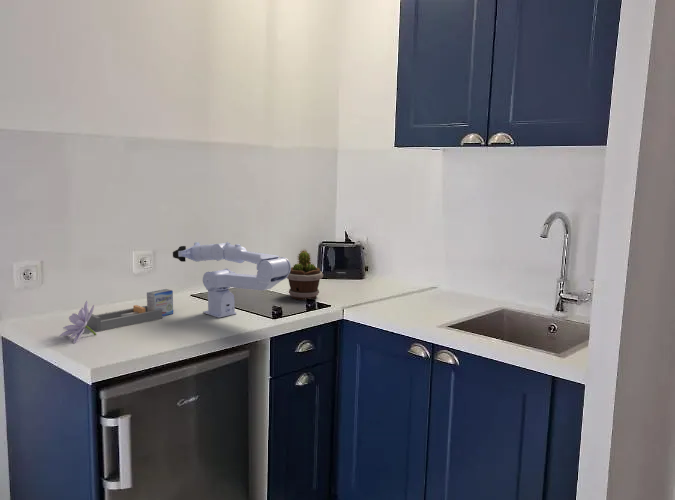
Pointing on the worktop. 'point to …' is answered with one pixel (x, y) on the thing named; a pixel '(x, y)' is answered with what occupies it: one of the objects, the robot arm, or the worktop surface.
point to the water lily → (79, 323)
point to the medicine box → (160, 301)
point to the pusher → (135, 310)
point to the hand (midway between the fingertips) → (182, 254)
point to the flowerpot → (304, 278)
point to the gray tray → (121, 319)
